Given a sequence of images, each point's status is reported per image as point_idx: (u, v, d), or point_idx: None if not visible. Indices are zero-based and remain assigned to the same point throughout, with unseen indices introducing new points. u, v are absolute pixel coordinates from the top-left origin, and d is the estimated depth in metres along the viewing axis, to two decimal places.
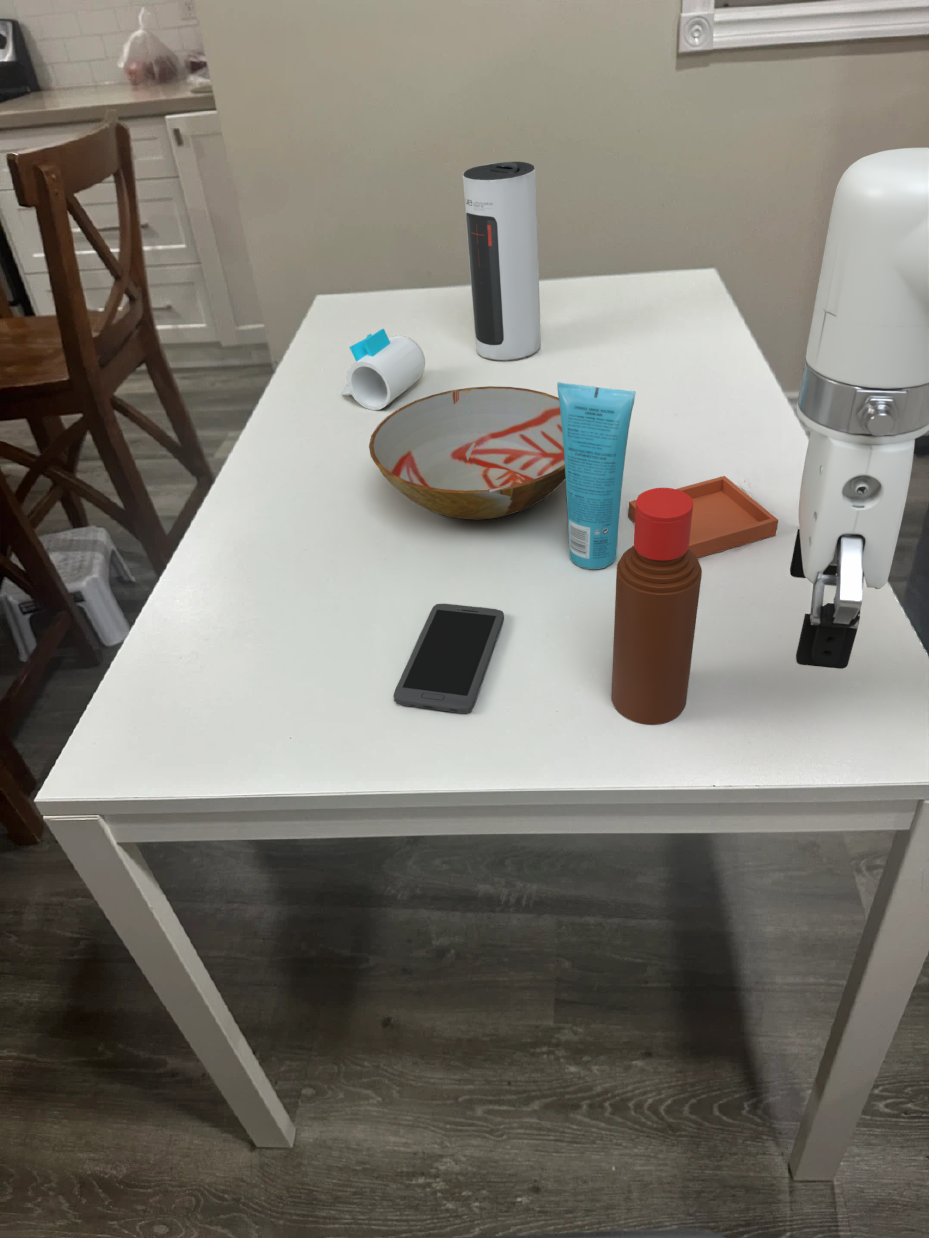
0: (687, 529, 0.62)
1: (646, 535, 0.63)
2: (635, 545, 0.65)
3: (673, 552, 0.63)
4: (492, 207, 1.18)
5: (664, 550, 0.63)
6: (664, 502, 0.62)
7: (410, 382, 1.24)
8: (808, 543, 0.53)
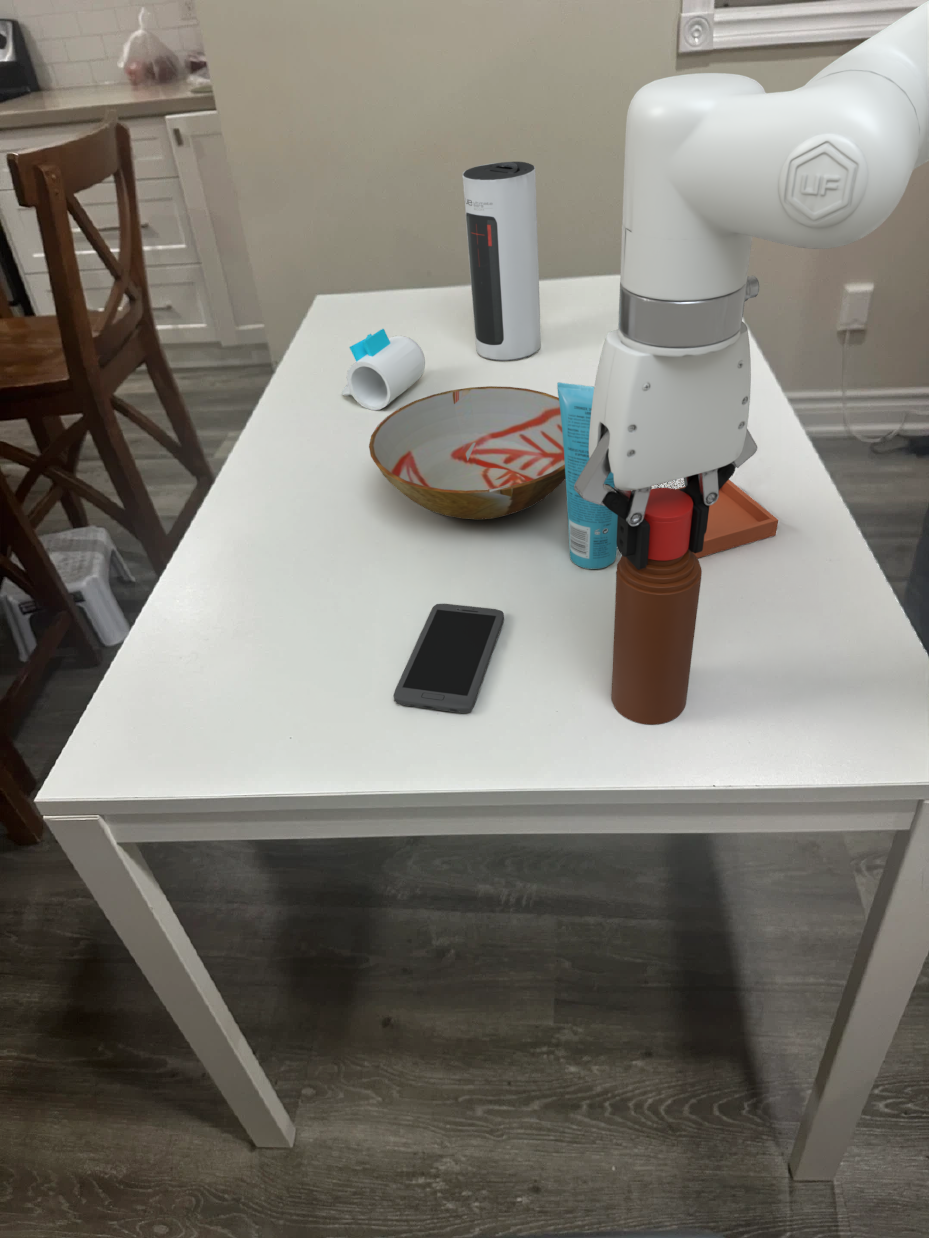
0: (687, 529, 0.62)
1: None
2: None
3: (672, 552, 0.63)
4: (492, 207, 1.18)
5: (664, 550, 0.63)
6: (664, 502, 0.62)
7: (410, 382, 1.24)
8: (737, 430, 0.58)
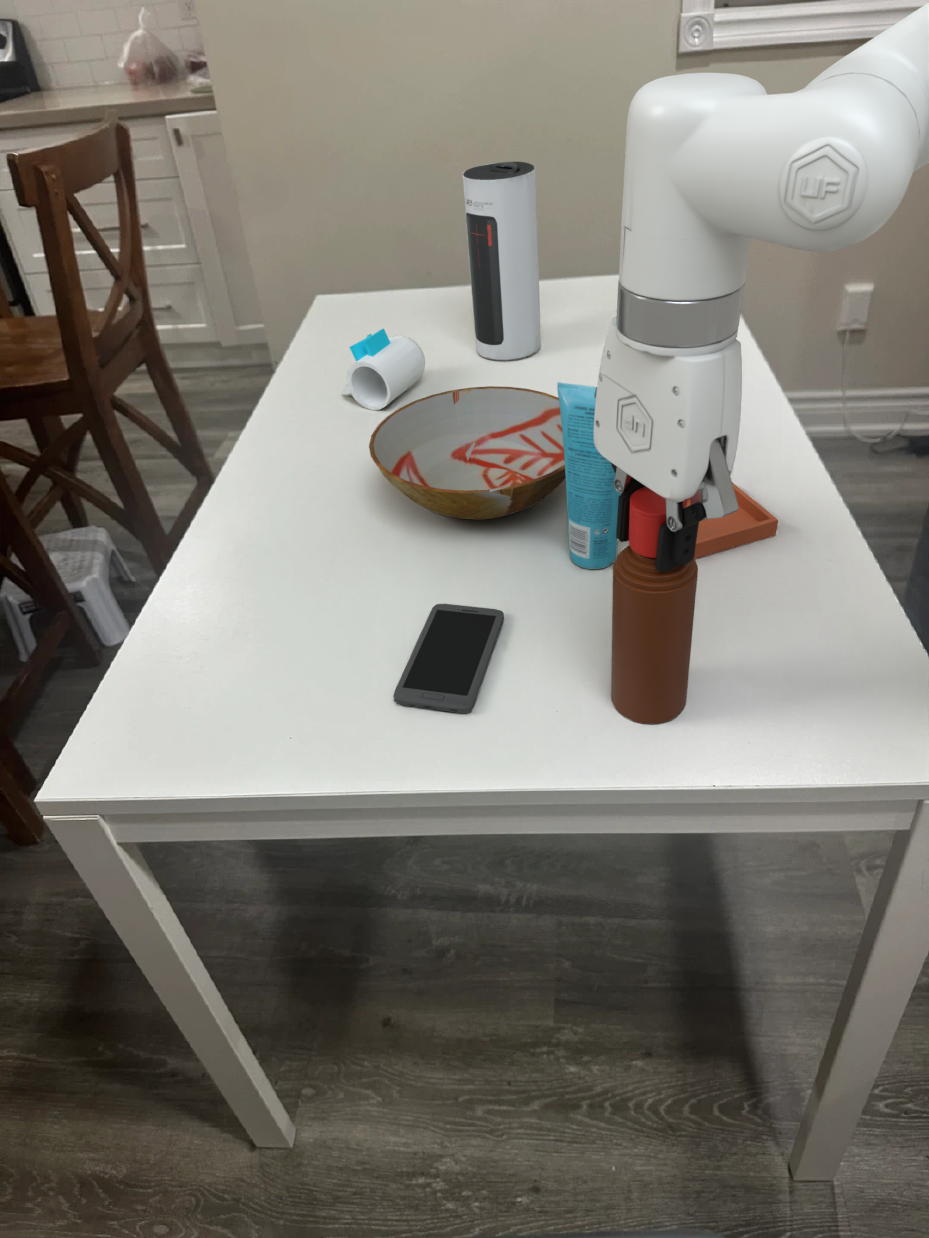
0: None
1: None
2: None
3: None
4: (492, 207, 1.18)
5: None
6: (659, 499, 0.63)
7: (410, 382, 1.24)
8: None
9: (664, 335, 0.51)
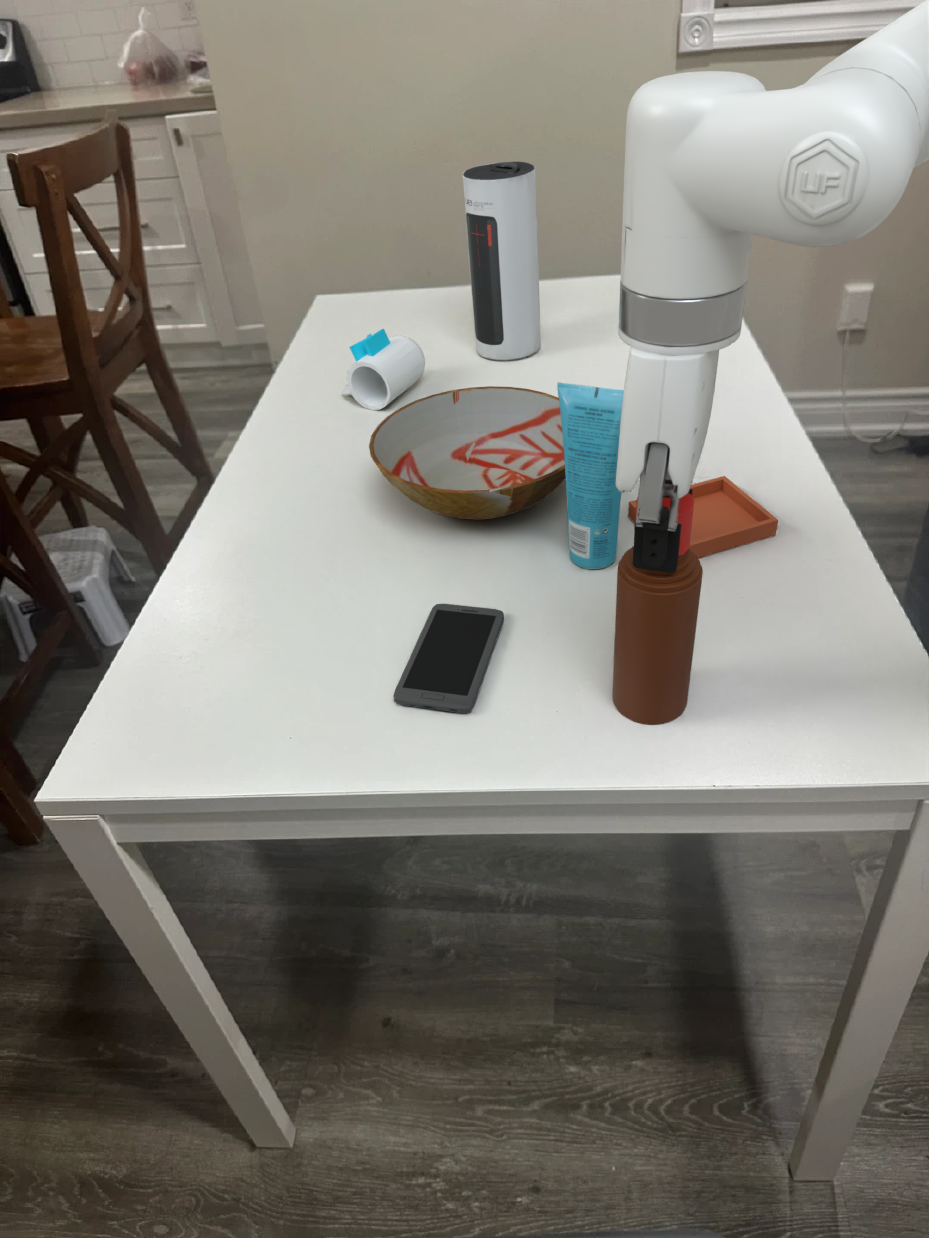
0: None
1: None
2: (688, 544, 0.64)
3: None
4: (492, 207, 1.18)
5: None
6: (665, 500, 0.62)
7: (410, 382, 1.24)
8: None
9: (625, 322, 0.53)
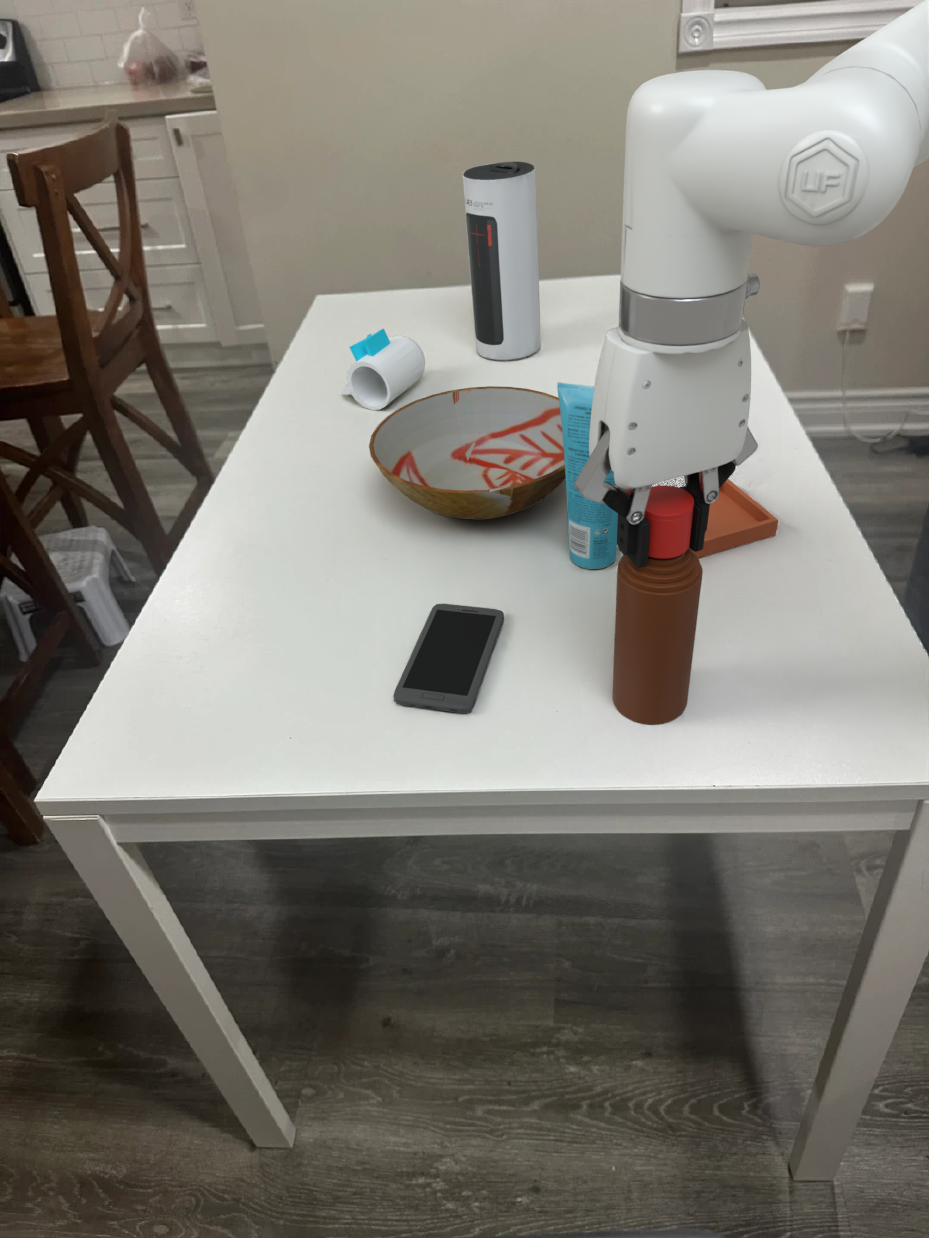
0: None
1: None
2: None
3: None
4: (492, 207, 1.18)
5: None
6: (664, 499, 0.62)
7: (410, 382, 1.24)
8: (738, 428, 0.58)
9: None
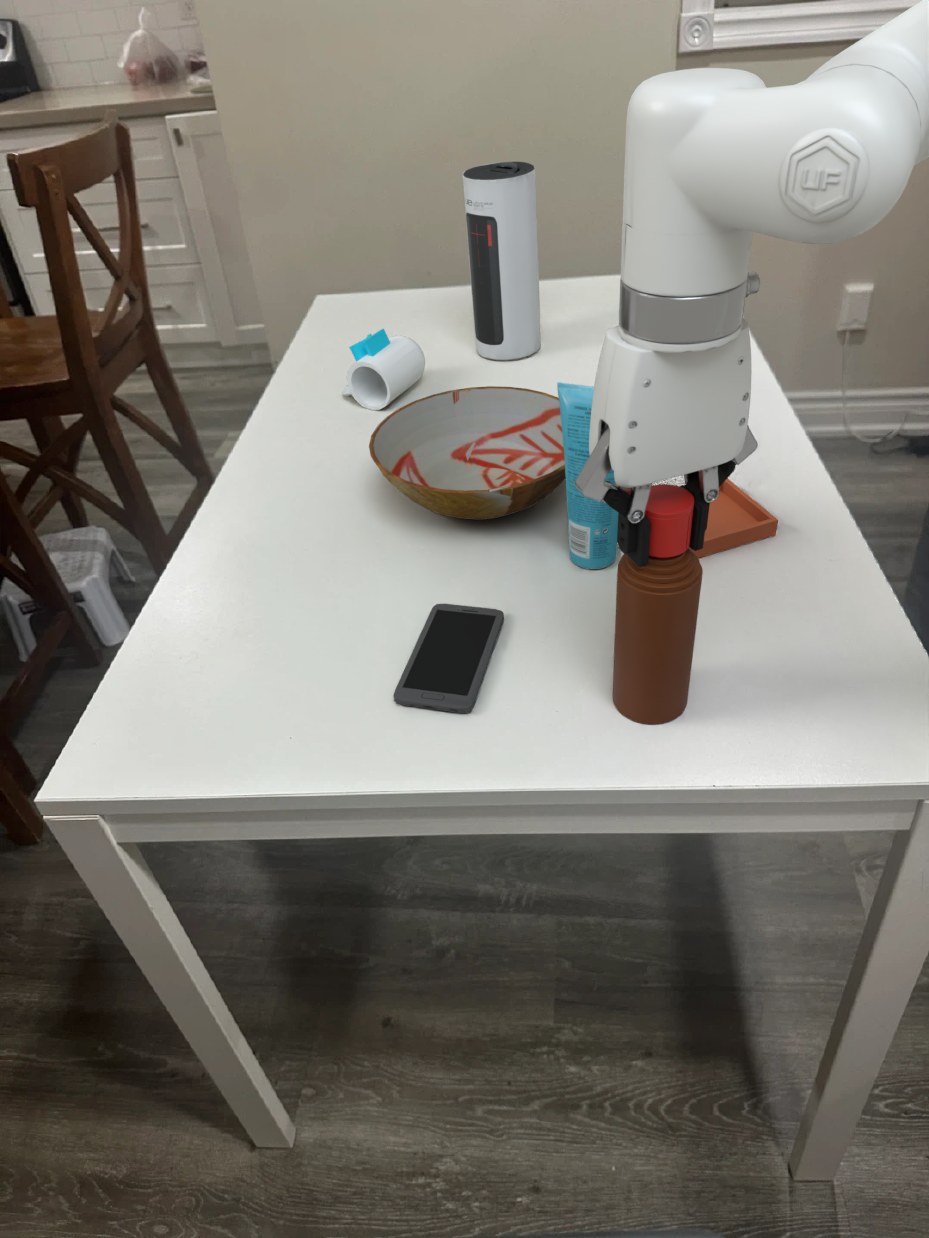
0: (662, 533, 0.62)
1: None
2: None
3: None
4: (492, 207, 1.18)
5: None
6: (664, 498, 0.62)
7: (410, 382, 1.24)
8: (738, 427, 0.58)
9: None
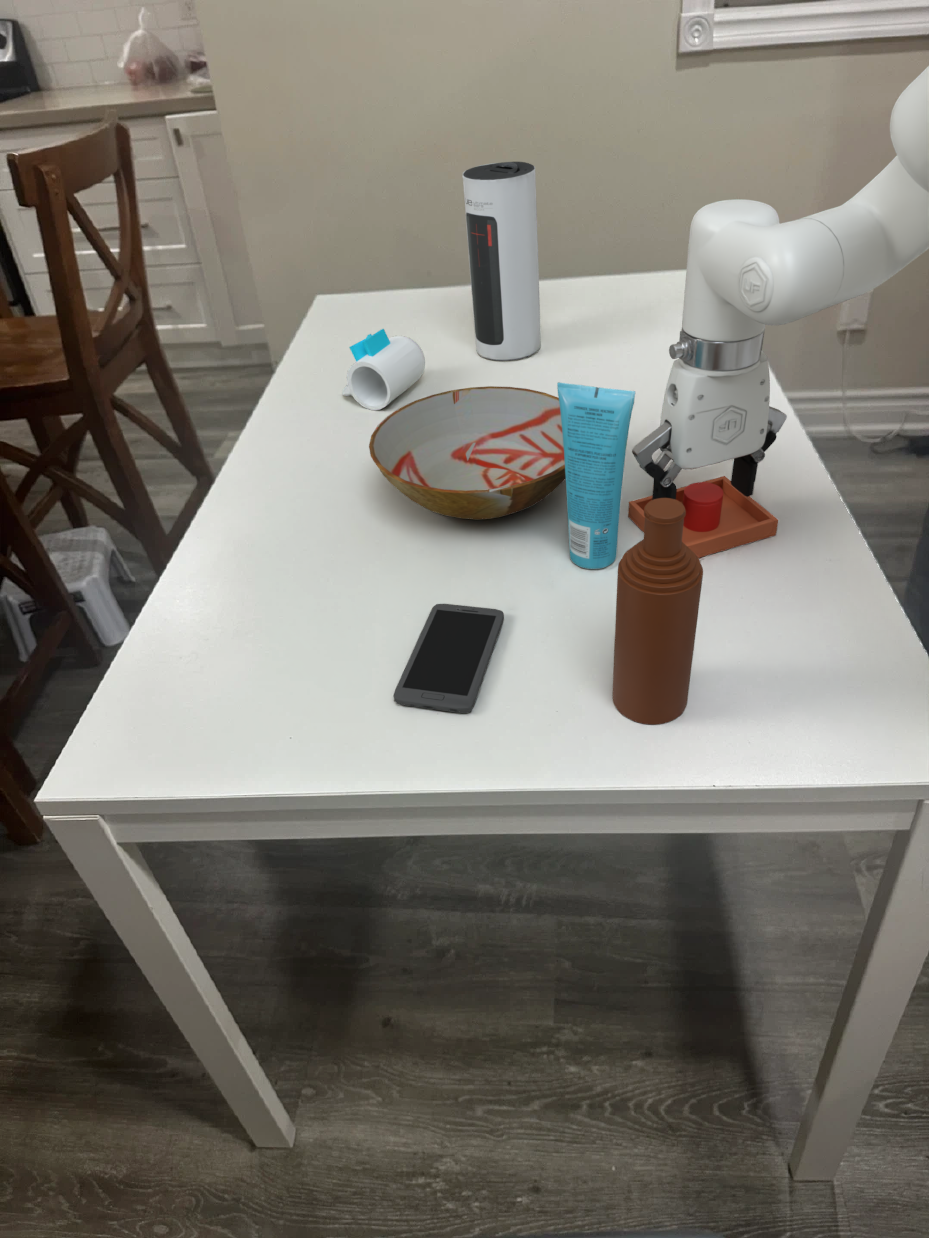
0: None
1: None
2: (714, 526, 0.93)
3: None
4: (492, 207, 1.18)
5: None
6: (704, 491, 0.92)
7: (410, 382, 1.24)
8: None
9: (759, 353, 0.80)
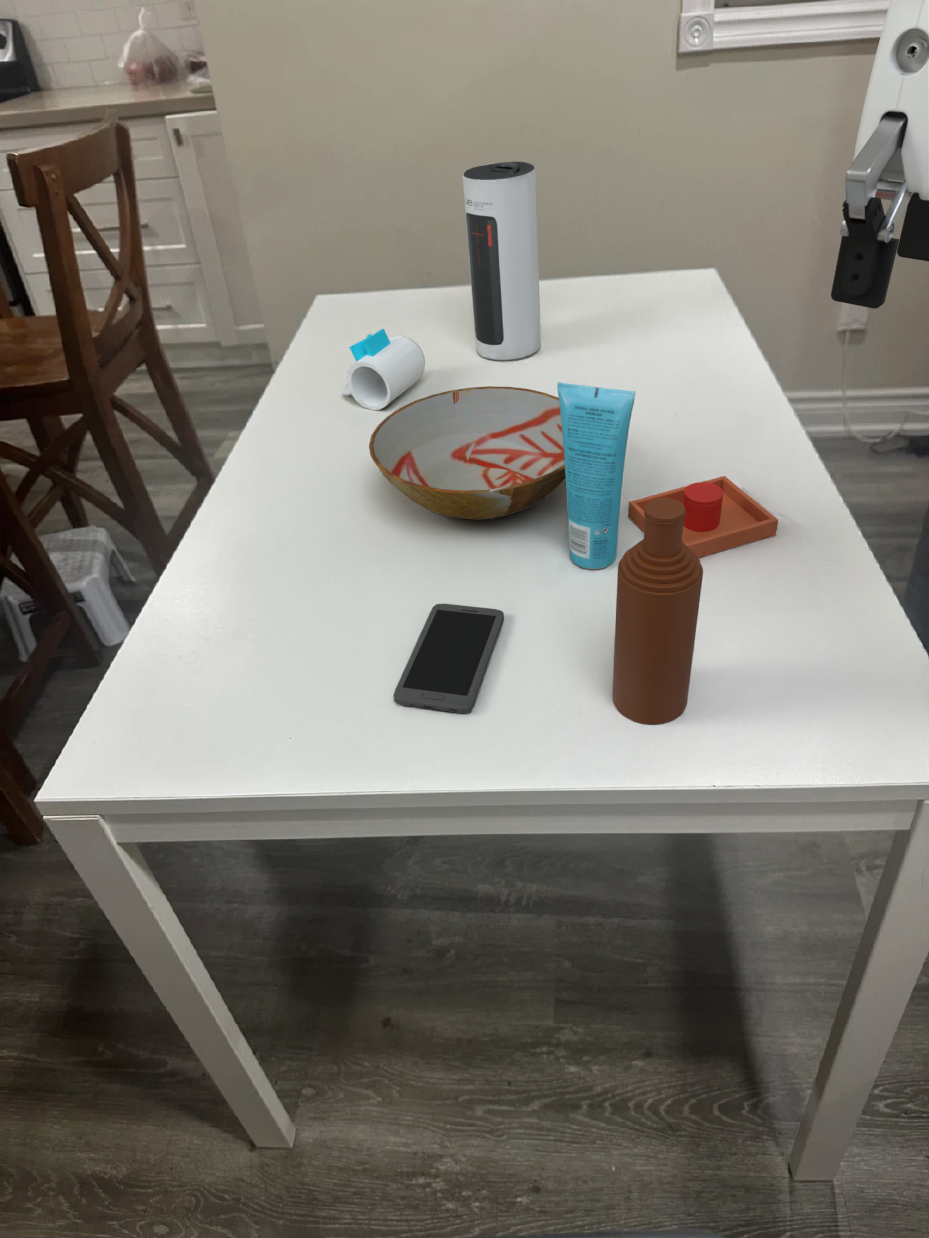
0: None
1: None
2: (714, 526, 0.93)
3: None
4: (492, 207, 1.18)
5: None
6: (704, 491, 0.92)
7: (410, 382, 1.24)
8: None
9: None
